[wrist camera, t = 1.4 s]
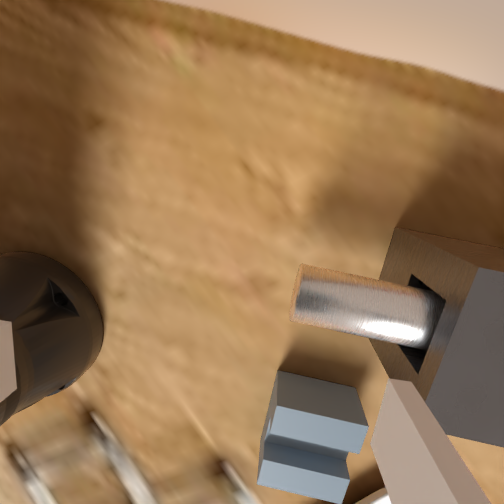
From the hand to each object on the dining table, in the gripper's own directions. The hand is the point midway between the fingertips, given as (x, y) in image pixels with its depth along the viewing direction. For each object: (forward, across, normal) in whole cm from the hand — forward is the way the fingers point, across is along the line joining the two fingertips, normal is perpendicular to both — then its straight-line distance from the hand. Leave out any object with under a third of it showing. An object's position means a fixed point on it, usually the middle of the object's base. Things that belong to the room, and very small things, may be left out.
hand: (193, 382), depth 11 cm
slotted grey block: (+18, +18, -1) cm, 26 cm away
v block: (+18, +9, -17) cm, 26 cm away
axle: (+11, +14, -1) cm, 18 cm away
